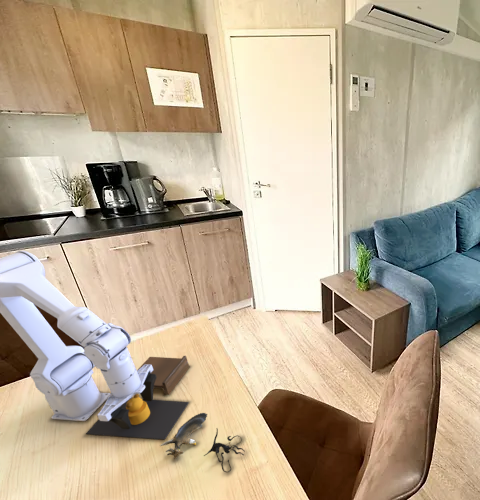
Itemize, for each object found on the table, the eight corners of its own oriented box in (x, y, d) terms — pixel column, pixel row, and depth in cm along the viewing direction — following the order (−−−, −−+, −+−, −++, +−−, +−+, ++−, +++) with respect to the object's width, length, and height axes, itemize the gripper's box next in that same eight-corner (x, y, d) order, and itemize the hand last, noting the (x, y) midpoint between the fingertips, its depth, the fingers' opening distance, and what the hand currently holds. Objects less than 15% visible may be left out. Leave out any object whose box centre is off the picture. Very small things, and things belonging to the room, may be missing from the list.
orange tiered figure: (125, 424, 71) (116, 406, 69) (138, 408, 75) (130, 390, 73) (141, 425, 71) (133, 407, 68) (154, 409, 75) (146, 391, 72)
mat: (86, 434, 69) (85, 433, 69) (119, 398, 78) (118, 397, 78) (164, 440, 68) (164, 439, 68) (188, 402, 77) (188, 401, 77)
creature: (250, 440, 69) (217, 434, 69) (251, 426, 67) (218, 420, 67) (237, 477, 62) (200, 471, 62) (239, 462, 60) (201, 456, 60)
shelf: (128, 392, 80) (123, 380, 78) (152, 364, 89) (148, 353, 87) (168, 394, 80) (164, 382, 78) (189, 367, 89) (186, 355, 87)
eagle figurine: (197, 460, 63) (216, 417, 71) (170, 447, 60) (193, 404, 67) (176, 464, 66) (196, 423, 73) (150, 452, 63) (174, 410, 70)
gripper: (111, 402, 60) (131, 443, 66) (158, 352, 73) (171, 389, 79) (80, 400, 61) (102, 441, 66) (132, 351, 74) (147, 388, 79)
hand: (138, 413), depth 73 cm, fingers open, 7 cm apart
